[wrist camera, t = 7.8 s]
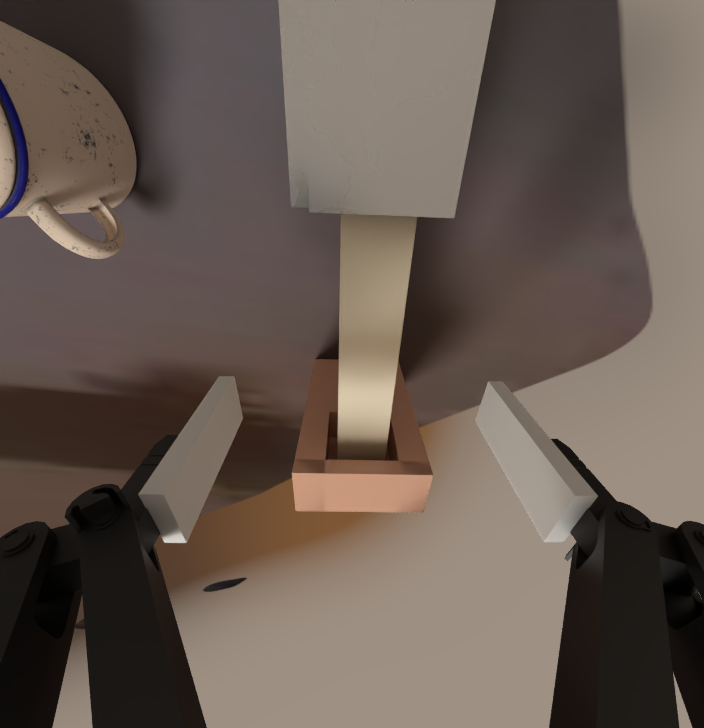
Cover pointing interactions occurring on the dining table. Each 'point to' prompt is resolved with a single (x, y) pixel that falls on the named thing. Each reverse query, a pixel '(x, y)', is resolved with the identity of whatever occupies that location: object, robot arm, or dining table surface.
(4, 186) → the teacup with lid
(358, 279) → the bar
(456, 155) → the sleeve
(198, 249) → the dining table surface
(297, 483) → the socket block
